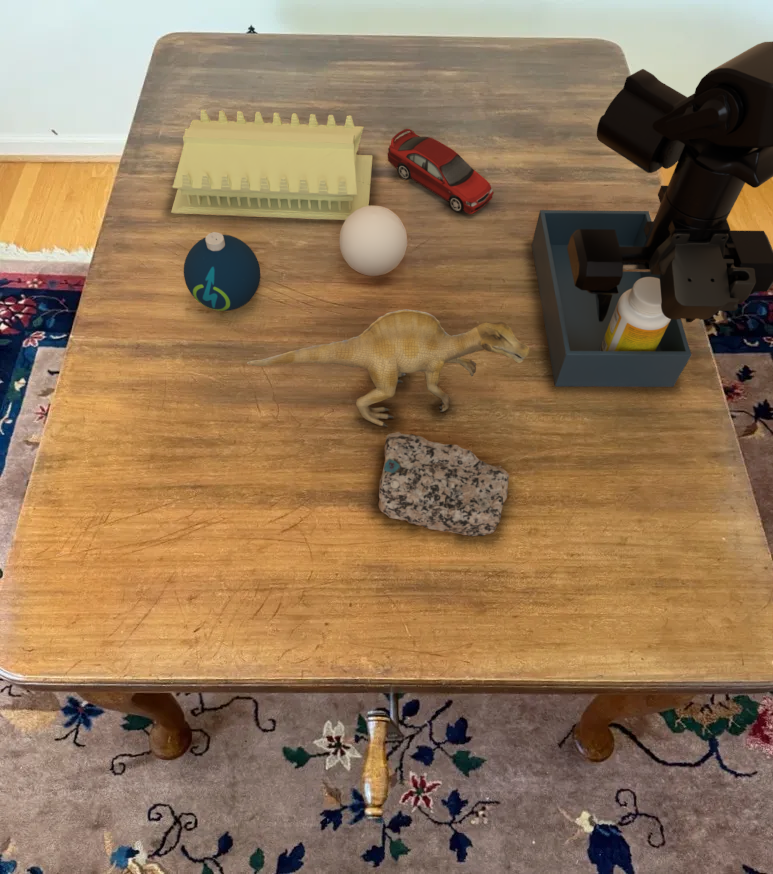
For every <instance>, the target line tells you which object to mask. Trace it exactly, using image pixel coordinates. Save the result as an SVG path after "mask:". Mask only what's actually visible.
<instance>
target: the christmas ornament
mask: <svg viewBox="0 0 773 874" xmlns="http://www.w3.org/2000/svg"><path fill="white" fill-rule="evenodd" d="M183 278H184V282H185V286H186V287H187V290H188V292H189V293H190V295H191V296H192V297H193V298H194V299H195V301H197V302H198V303H199V304H200V305H202V306H204V307H206V308H207V309H210V310H212V311H213V310H214V311H218V312H229V311H234V310H238V309H240V308H242V307H244V306H245V305H247V304H248V303H249V302H250V301H251V300H252V299H253V298H254V297H255V295H256V293H257V291H258V289H259V286H260V282H261V266H260V263H259V259H258V258H257V256H256V254H255V252H254V251H253V249H252V248H251V247H250V246H249V245H248V244H247V243H246V242H244V241H243V240H241V239H240V238H238V237H235V236H233V235H229V234H223V233H221V232H218V231H213V232H210V233H208V234H207V235H206V236H205V237H204V238H201V239H199V240H198V241H197V242H196V243H195V244H194V245H193V246H192V247H191V248H190V249H189V251H188V253H187V255H186V257H185V260H184V263H183Z"/></svg>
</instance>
